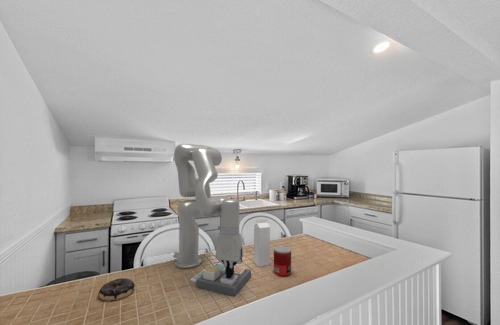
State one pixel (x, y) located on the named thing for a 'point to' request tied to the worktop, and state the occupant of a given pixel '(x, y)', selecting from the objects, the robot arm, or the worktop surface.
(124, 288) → the donut
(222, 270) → the key teal
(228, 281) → the key slate
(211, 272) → the key mustard
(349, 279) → the worktop surface
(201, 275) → the strip
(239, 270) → the key terracotta
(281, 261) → the canned food
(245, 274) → the keypad
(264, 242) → the milk
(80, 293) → the worktop surface
